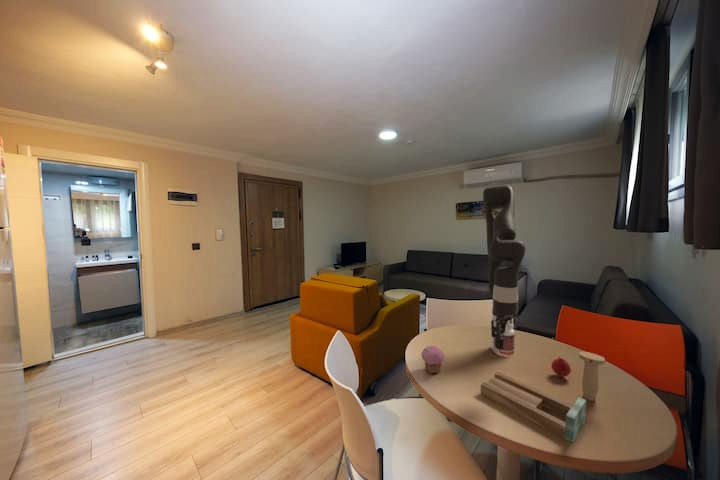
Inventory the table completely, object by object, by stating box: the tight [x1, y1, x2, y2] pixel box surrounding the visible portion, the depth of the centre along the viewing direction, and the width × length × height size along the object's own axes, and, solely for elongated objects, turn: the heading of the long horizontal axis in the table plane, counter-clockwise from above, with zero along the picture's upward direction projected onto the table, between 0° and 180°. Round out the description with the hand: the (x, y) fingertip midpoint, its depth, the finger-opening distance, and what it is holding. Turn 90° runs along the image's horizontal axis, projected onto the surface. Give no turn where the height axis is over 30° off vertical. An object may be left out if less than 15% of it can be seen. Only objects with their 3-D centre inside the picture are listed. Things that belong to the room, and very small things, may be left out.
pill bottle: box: [493, 323, 515, 358], centre depth 91 cm, size 6×6×11 cm
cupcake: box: [421, 345, 445, 374], centre depth 106 cm, size 9×9×10 cm
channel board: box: [480, 371, 587, 444], centre depth 86 cm, size 12×26×7 cm, turn 37°
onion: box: [551, 356, 572, 378], centre depth 101 cm, size 6×6×8 cm
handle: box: [578, 351, 606, 402], centre depth 89 cm, size 5×6×15 cm
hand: (503, 345), depth 91 cm, fingers closed on pill bottle, 6 cm apart
